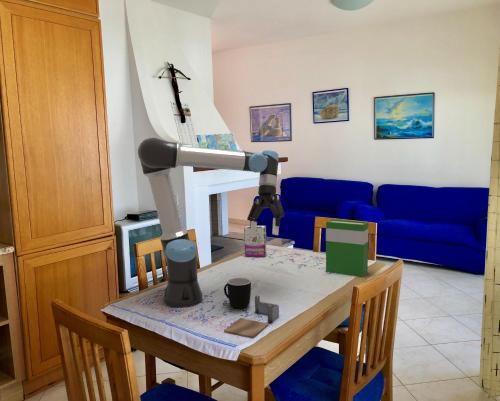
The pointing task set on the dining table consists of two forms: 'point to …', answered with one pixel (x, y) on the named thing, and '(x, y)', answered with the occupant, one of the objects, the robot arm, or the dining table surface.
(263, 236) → the candy bar box
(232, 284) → the mug
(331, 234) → the hardback book
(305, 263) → the dining table surface
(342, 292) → the dining table surface
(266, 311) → the grey l-shaped bracket
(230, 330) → the coaster
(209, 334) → the dining table surface
